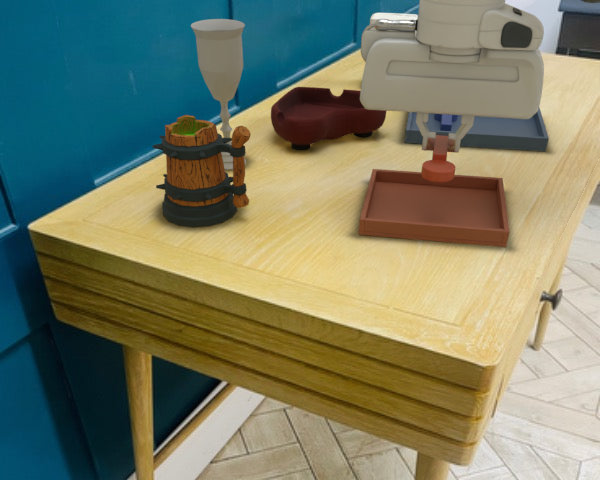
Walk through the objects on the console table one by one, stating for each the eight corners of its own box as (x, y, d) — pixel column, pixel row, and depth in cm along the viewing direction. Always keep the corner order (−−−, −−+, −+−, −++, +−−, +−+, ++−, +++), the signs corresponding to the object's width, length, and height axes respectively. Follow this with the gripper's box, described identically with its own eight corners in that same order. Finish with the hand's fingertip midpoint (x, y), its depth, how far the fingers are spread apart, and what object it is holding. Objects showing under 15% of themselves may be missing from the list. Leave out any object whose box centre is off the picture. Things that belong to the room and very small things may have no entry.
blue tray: (536, 118, 106) (539, 105, 105) (545, 151, 95) (548, 138, 93) (410, 111, 109) (411, 99, 108) (404, 142, 98) (405, 129, 96)
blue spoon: (457, 136, 98) (459, 125, 97) (432, 135, 99) (434, 123, 98) (457, 115, 106) (458, 104, 105) (434, 114, 106) (435, 103, 105)
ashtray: (341, 108, 110) (342, 77, 107) (393, 137, 99) (396, 105, 96) (248, 125, 104) (246, 93, 101) (293, 158, 93) (293, 124, 90)
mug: (144, 218, 79) (127, 124, 71) (189, 187, 86) (178, 99, 78) (233, 240, 74) (225, 142, 67) (273, 205, 81) (270, 113, 74)
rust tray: (499, 192, 84) (502, 177, 83) (506, 247, 73) (509, 231, 71) (371, 182, 86) (372, 168, 85) (358, 234, 75) (359, 219, 74)
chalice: (196, 160, 93) (180, 23, 81) (235, 149, 96) (225, 16, 84) (221, 176, 88) (209, 34, 77) (261, 164, 91) (255, 26, 80)
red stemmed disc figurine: (424, 148, 79) (426, 134, 78) (454, 150, 79) (457, 136, 78) (420, 181, 72) (422, 165, 71) (453, 183, 71) (456, 168, 70)
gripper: (359, 24, 66) (352, 153, 75) (560, 32, 63) (527, 166, 72) (365, 12, 71) (358, 135, 80) (553, 19, 68) (523, 146, 77)
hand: (440, 150), depth 76 cm, fingers closed on red stemmed disc figurine, 1 cm apart
